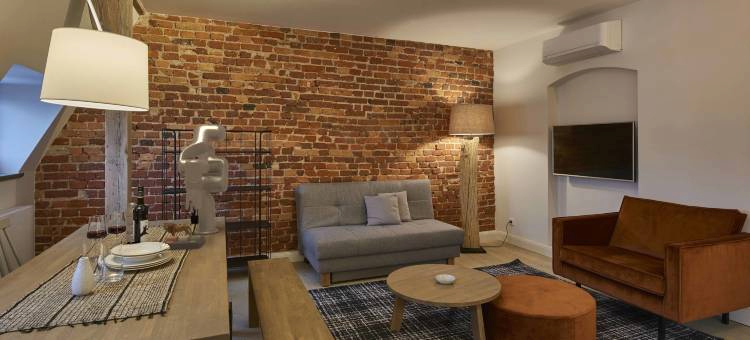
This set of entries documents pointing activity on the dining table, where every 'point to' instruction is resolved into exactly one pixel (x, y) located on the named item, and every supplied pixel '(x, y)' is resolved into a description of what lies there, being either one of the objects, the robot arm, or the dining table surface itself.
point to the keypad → (185, 244)
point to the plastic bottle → (129, 222)
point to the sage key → (195, 237)
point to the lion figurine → (176, 228)
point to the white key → (184, 238)
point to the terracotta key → (172, 238)
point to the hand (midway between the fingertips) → (194, 223)
